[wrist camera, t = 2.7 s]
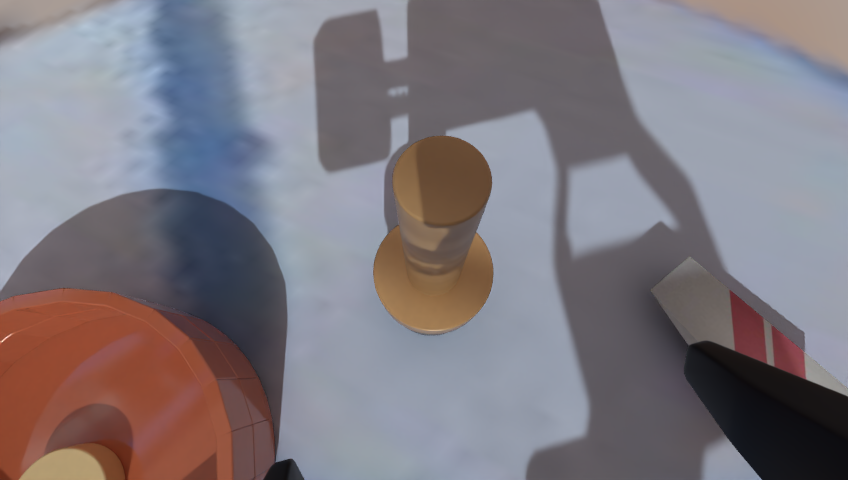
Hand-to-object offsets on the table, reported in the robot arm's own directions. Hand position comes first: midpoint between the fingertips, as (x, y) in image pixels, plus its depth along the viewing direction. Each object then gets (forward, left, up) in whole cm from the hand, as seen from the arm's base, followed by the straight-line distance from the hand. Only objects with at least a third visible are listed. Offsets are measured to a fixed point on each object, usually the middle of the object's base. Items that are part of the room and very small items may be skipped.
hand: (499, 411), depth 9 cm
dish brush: (+4, +3, -11) cm, 12 cm away
